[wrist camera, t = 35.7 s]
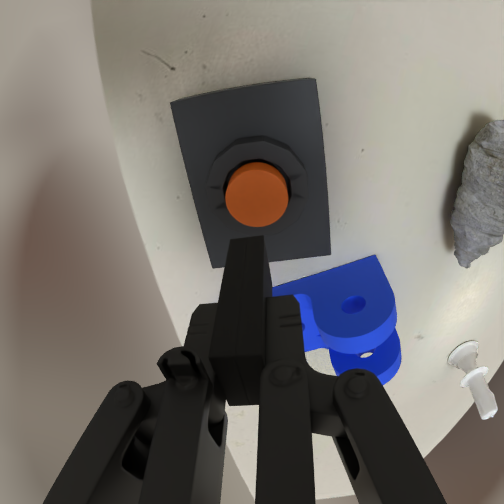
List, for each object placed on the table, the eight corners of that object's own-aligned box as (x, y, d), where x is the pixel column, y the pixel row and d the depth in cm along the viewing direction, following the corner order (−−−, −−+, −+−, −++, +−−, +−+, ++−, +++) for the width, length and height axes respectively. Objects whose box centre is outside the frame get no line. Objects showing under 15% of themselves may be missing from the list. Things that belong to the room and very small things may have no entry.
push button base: (179, 98, 22) (161, 105, 18) (310, 77, 21) (320, 79, 17) (216, 251, 29) (209, 281, 25) (326, 238, 28) (334, 267, 24)
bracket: (375, 254, 29) (405, 320, 21) (386, 312, 33) (409, 377, 25) (205, 307, 33) (190, 376, 25) (238, 354, 37) (232, 418, 29)
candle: (469, 335, 35) (502, 404, 25) (482, 346, 37) (511, 409, 26) (442, 358, 38) (468, 427, 27) (456, 367, 39) (480, 430, 29)
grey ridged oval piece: (431, 265, 26) (495, 289, 18) (439, 119, 23) (504, 108, 16) (471, 265, 27) (529, 284, 19) (478, 135, 25) (538, 130, 17)
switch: (222, 166, 21) (219, 174, 19) (282, 157, 20) (284, 165, 19) (234, 219, 23) (231, 231, 21) (289, 212, 22) (291, 223, 21)
